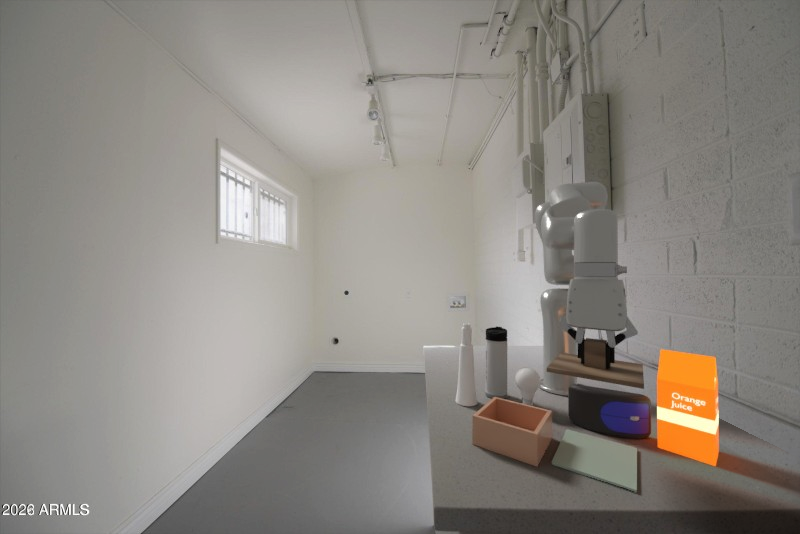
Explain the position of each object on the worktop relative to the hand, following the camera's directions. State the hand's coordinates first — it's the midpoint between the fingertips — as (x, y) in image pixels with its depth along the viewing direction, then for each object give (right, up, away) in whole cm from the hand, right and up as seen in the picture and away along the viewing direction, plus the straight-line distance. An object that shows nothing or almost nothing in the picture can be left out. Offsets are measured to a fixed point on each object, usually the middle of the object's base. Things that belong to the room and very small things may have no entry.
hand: (595, 363), depth 63 cm
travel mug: (-10, -19, +31) cm, 38 cm away
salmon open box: (-14, -19, +6) cm, 24 cm away
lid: (0, -2, 0) cm, 2 cm away
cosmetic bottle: (-20, -19, +26) cm, 38 cm away
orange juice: (+21, -19, +3) cm, 28 cm away
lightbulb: (-5, -19, +22) cm, 30 cm away
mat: (0, -19, 0) cm, 19 cm away
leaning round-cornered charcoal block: (+10, -19, +11) cm, 24 cm away
